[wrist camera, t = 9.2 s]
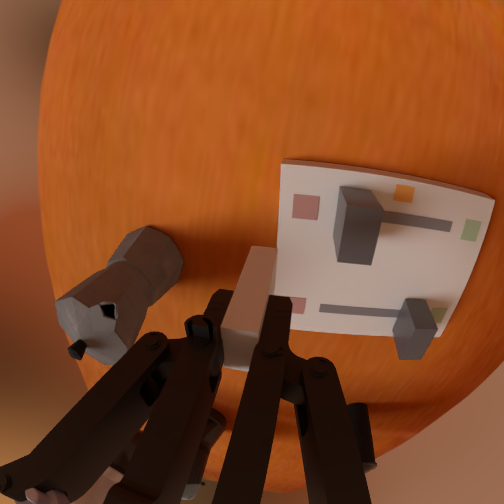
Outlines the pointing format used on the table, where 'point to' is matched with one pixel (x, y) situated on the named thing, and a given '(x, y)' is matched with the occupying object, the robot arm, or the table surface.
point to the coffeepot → (119, 296)
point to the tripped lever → (356, 225)
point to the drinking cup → (363, 434)
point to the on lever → (414, 329)
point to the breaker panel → (386, 253)
